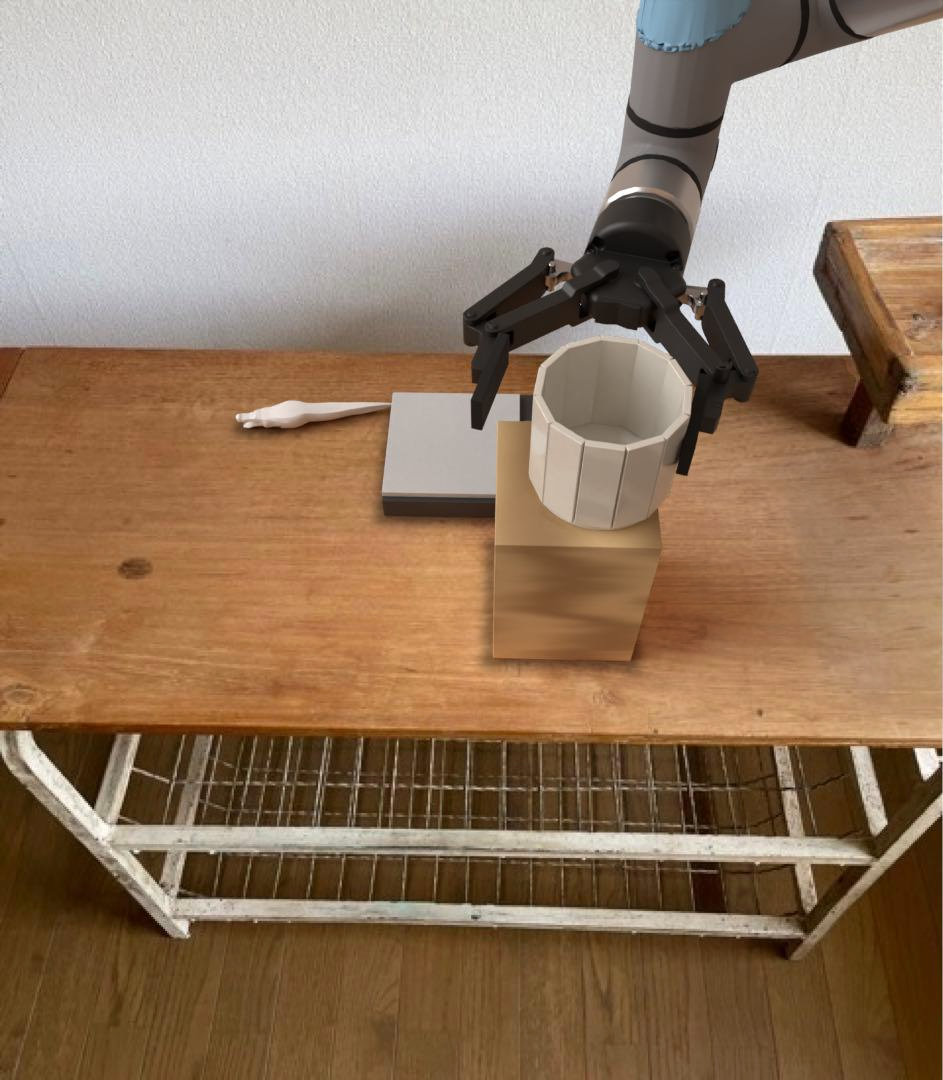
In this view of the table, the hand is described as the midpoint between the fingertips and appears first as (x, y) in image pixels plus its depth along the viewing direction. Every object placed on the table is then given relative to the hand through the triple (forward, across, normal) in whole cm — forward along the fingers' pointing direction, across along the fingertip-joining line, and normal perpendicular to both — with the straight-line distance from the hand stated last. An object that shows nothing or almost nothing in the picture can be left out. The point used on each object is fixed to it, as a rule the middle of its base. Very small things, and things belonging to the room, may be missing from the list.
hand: (578, 438), depth 58 cm
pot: (-2, -2, -5) cm, 6 cm away
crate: (-1, 0, -21) cm, 21 cm away
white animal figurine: (-14, +27, -22) cm, 38 cm away
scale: (-13, +13, -21) cm, 28 cm away
